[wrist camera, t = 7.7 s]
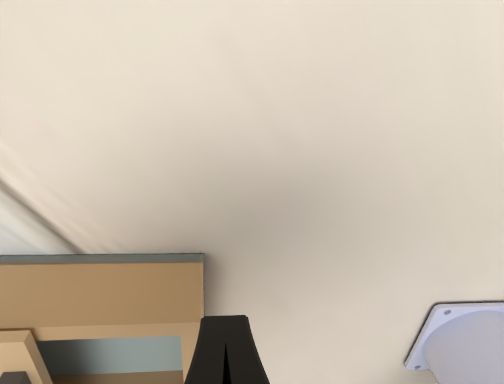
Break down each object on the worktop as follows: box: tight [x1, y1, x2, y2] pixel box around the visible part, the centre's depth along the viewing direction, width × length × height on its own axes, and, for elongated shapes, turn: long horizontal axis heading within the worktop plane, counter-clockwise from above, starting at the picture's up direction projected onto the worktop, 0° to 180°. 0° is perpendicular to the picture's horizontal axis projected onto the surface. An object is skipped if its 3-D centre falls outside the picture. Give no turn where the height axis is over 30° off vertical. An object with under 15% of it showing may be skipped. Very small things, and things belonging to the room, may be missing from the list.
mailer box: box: [0, 254, 204, 384], centre depth 21 cm, size 20×12×5 cm, turn 87°
